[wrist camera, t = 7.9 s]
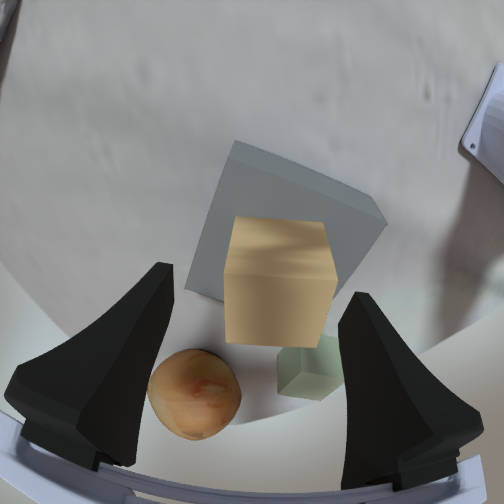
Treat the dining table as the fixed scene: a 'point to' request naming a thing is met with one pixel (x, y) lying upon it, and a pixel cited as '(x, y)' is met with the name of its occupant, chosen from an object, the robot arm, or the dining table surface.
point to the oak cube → (277, 282)
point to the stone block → (6, 14)
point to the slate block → (282, 213)
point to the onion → (194, 394)
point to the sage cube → (310, 370)
